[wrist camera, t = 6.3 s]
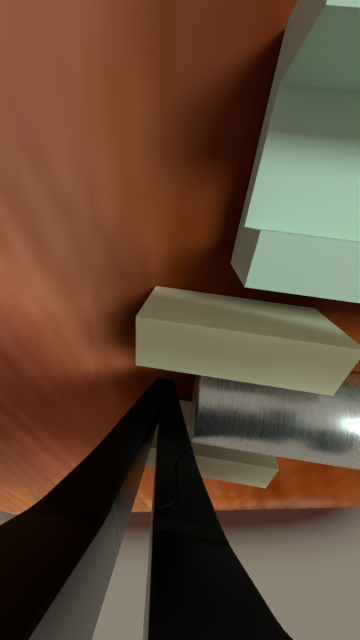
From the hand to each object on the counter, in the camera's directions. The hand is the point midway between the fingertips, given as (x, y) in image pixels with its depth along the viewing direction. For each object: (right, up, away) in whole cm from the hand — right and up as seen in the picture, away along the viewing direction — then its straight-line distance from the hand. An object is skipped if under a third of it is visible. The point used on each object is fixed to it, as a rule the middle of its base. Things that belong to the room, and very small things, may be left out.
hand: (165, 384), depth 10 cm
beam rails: (+3, 0, +1) cm, 3 cm away
